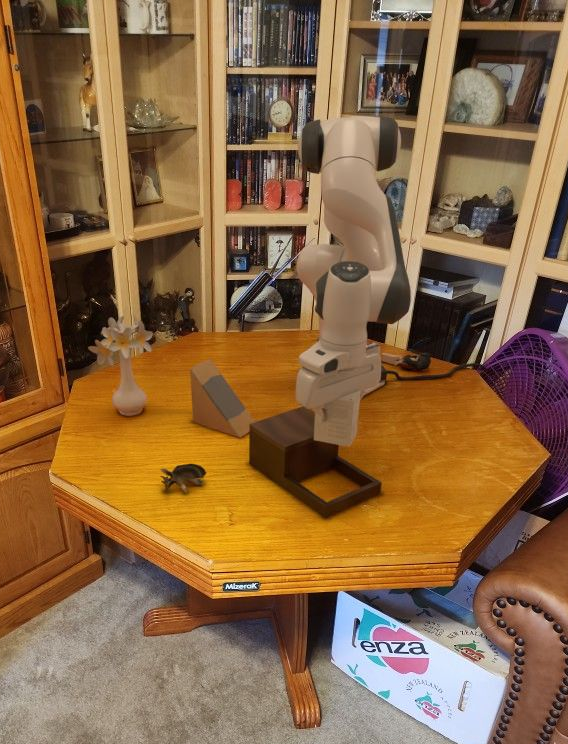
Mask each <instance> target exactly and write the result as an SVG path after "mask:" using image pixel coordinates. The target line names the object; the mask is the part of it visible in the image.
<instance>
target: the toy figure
mask: <svg viewBox="0 0 568 744" xmlns="http://www.w3.org/2000/svg"><path fill="white" fill-rule="evenodd" d="M406 351H408V352H410V353H412V354H414V355H410V354H407V355H404V356H402V355H401V354H392V353H388V352H383V353H382V354H381V362H384V363H387V364H390V365H393V366H398V365H400V364H401V365H406V366H407V367H403V366H401V369H403V370H406V371H411V370H416V371H421V372H424V371H427V370H428V368H430V365H431V363H432V359H431V355H432V354H431V353H430V352H420V351H418V350H417V349H413V348H411V347H408V348H406ZM408 367H410V368H408Z"/></svg>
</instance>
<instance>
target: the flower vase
mask: <svg viewBox="0 0 568 744" xmlns="http://www.w3.org/2000/svg"><path fill="white" fill-rule="evenodd" d="M132 316H133V321H134V325H131V326H127V324H126V323H125V322H124V319H125V317H124V315H122V316H120V317H119V318H118V319H117V321H116V320H115V319H114V317H109V318H108V320H107V324H108V327H105V326H104V327H102V330H101V332H100V335H101V336H103V337H105V338H104V339H102V340H101V341H99V340H98V339H95V340H94V343H95V345H96V346H95V345H94V346H93V345H91V346H88V348H87V349H88V350H89V351H90V352H91V353H94V354H97V358H96V362H97V364H98V365H100V366H101V365H103V364H104V363H105V361H106V362H107V364H108V365H110V366H111V367H115V363H114V360H113V357H112V356H114V352H117V354H118V358H119V368H120V369H119V370H120V381H119V385H118V387H117V388H116V390H115V391H114V392H113V394H112V395H111V396H112V397H111V403H112V406H113V407H114V408H116V410H117V411H118V412H119V413H120V414H121V415H123V416H125V417H126V416H127V417H132V416H136V415H137V416H138V415H139V414H141V413H142V411H143V408H144V407H145V406H146V405H147V403H148V396H147V394H146V392H145V391H144V390H143V389H142V388H141V387H140V386H138V383H137V382H136V380H135V377H134V371H133V363H132V349H136V348H137V350H138V353H139V354H140V355H142V354H143V352H144V350H145V351H147V352H148V353H152V346H151V345H150V343H149V342H148V341H149V340H151V339H152V337H153V335H154V333H153V331H151V330H146V329H145V324H144V323H143V321H142V319H137V317H136V314H135V313H132ZM132 335H133V338H131V337H132Z"/></svg>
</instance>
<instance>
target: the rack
mask: <svg viewBox="0 0 568 744" xmlns="http://www.w3.org/2000/svg"><path fill="white" fill-rule="evenodd" d="M314 423H315V411H314V410H311V409H307V408H305V407H303V406H299V407H297V408H293V409H290V410H288V411H285V412H281V413H278V414H275V415H272V416H270V417H267V418H263V419H261V420H258V421H255V422H254V423H251V424H249V432H248V436H249V439H248V442H249V443H248V464H249V465H250V466H251V467H253V468H254V469H256V470H257V471H259V472H260V473H261V474H263V475H264V476H265V477H267V478H268V479H269V480H271V481H272V482H274V483H275V484H277V485H278V486H280V487H281V488H282V489H284V490H285V491H286V492H287V493H289V494H291V495H292V496H293V497H294V498H296V499H297V500H299V501H300V502H301V503H303V504H304V505H306V506H307V507H309V508H310V509H312V510H313V511H314V512H315V513H317V514H319V515H320V516H321V517H322V518H323V519H327V518H330V517H331V516H334V515H336V514H338V513H341V512H343V511H344V510H347V509H349V508H352V507H354V506H356V505H358V504H361V503H363V502H366V501H368V500H369V499H371V498H374V497H376V496H379V495H380V494H381V491H382V483H383V482H382V481H381V480H379V479H377V478H375V477H374V476H372V475H371V474H369V473H367V472H366V471H364V470H362V469H361V468H359V467H358V466H356V465H354V464H353V463H351V462H350V461H348V460H346V459H344V458H342V457H341V456H339V450H340V445H337V444H332V443H327V442H322V441H316V440H314ZM330 470H335V471H337V472H339V474H341V475H343V476H345V477H346V478H348V479H349V480H351V481H353V482H354V483H356V484H357V485H358V486H360V487H358V488H356V489H354V490H352V491H349V492H347V493H345V494H343V495H341V496H338V497H336V498H333V499H331V500H328V501H326V500H324V499H323V498H322V497H320V496H319V495H317V494H316V493H314V492H313V491H311V489H309V488H307V486H304V485H303V484H301V483H300V482H304V481H305V480H308V479H311V478H313V477H315V476H318V475H321V474H323V473H325V472H328V471H330Z"/></svg>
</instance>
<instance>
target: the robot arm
mask: <svg viewBox="0 0 568 744" xmlns="http://www.w3.org/2000/svg"><path fill="white" fill-rule="evenodd" d="M401 134H402V133H401V131H400V128H399V123H398V122H397V121H396V119H395V118H393V117H390V116H385V115H379V117H378V116H368V115H350V116H345V117H344V116H343V117H336V118H328V119H323V120H321V119H315V120H311V121H309V122H307V123H306V124H305V125H304V126H303V127H302V129H301V133H300V136H299V138H298V143H297V153H298V154H297V155H298V159H299V161H300V163H301V167H302V168H303V169H304V170H305V171H306V172H308V173H310V174H315V175H320V193H321V200H322V203H323V222H324V226H325V227H326V230H327V231H328V232H329V233H330V234H331V235H333V236H334V237H336V239H338V240H339V241H340V242H341V244H342V245H339V244H338V245H337V244H328V243H318V244H310V245H306V246H305V247H304V248H302V250H301V251H300V253H299V254H298V256H297V259H296V265H295V267H296V273H297V274H296V275H297V277H298V278H299V281H300V282H301V283H302V284H303V285H305V287H306V288H307V289H308V290H309V291H310V293H311V294H312V297H313V298H314V300H315V305H314V312H315V313H316V314H317V316H318V319H319V320H318V338H317V339H316V342H315V343H314V344H313V345H312V346H311V347H309V348H308V349H306V350H305V351H303V352H301V354H300V355H299V356H298V364H299V365H300V366H301V367H300V369H299V370H298V372H297V376H296V383H295V401H296V403H297V404H298V405H299V406H300V407H302V406H303V407H305V408H307V409H310V410H311V409H313V412H315V413H316V421H318V422H319V423H322V422H324V421H326V420H327V418H326V417H327V414H326V413H324V412H323V411H322V408H324V404H326V403H328V402H331V401H334V400H337V399H339V398H341V397H343V396H346V395H349V394H351V393H354V392H357V391H360V392H361V393H360V402H361V401H362V399H363V397H364V396H366V395H368V394H370V393H372V392H373V391H375V390H377V389H379V388H381V387H382V386H385V384H386V382H385V381H386V380H387V376H388V375H394V376H395V378H396V379H397V380H399V381H416V380H423V379H424V380H425V379H442V378H447V377H450V376H452V375H453V374H454V373H455V371H458V370H461V369H466V368H471V367H479V368H481V369H482V370H484V371H486V370H487V371H488V368H487V367H486V366H485V365H484V364H482V363H478V362H470V363H466V364H461V365H457V366H454V367H453V368H451V370H450V371H449V372H446V373H442V374H423V375H422V374H421V375H413V376H401V375H399V372H397V371H395V370H389V369H387V368H385V366H384V365H383V364H382V356H381V350H382V349H381V348H382V347H381V346H380V344H379V343H378V342H377V341H369V340H368V331H367V325H368V322H372V323H373V322H375V323H376V324H387V325H394V324H396V323H397V322H399V321H401V319H403V318H404V317H405V316H406V315H407V314H408V313H409V311H410V306H411V303H412V288H411V284H410V280H409V276H408V272H407V269H406V265H405V260H404V253H403V252H404V251H403V248H402V241H401V236H400V230H399V224H398V220H397V219H398V218H397V213H396V210H395V206H394V203H393V200H392V198H391V197H390V196H388V195H387V194H385V193H384V192H383V190H382V189H381V187H380V186H379V183H378V180H377V175H376V174H377V173H376V172H378V173H379V172H382V171H386V170H388V169H391V168H392V167H393V166H394V164H396V162H397V159H398V156H399V155H400V151H401V147H402V135H401Z"/></svg>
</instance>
